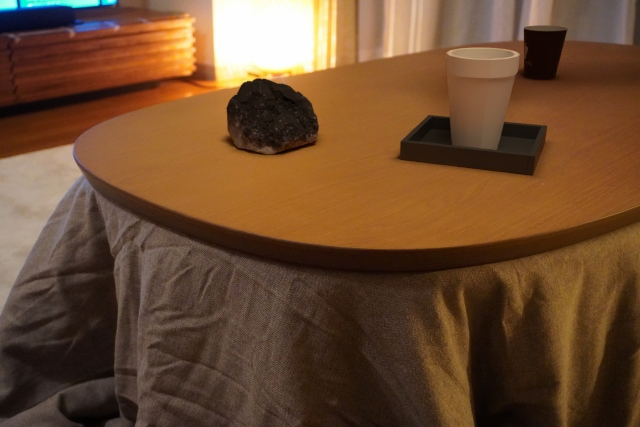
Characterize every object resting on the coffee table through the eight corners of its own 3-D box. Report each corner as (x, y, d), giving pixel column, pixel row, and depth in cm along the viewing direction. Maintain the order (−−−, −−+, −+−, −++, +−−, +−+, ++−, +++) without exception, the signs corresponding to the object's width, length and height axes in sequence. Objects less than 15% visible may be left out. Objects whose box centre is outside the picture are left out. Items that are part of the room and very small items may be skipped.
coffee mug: (556, 82, 127) (563, 31, 123) (514, 78, 131) (519, 29, 127) (567, 71, 136) (573, 24, 132) (526, 68, 140) (532, 23, 136)
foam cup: (490, 134, 93) (499, 46, 88) (521, 153, 85) (533, 57, 79) (430, 139, 91) (435, 49, 86) (456, 159, 83) (464, 61, 78)
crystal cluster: (331, 153, 90) (333, 84, 87) (239, 157, 86) (239, 85, 83) (302, 136, 102) (303, 74, 99) (220, 138, 98) (219, 74, 95)
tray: (545, 142, 91) (547, 125, 90) (532, 175, 79) (535, 155, 78) (427, 130, 98) (428, 114, 96) (399, 159, 85) (400, 141, 84)
